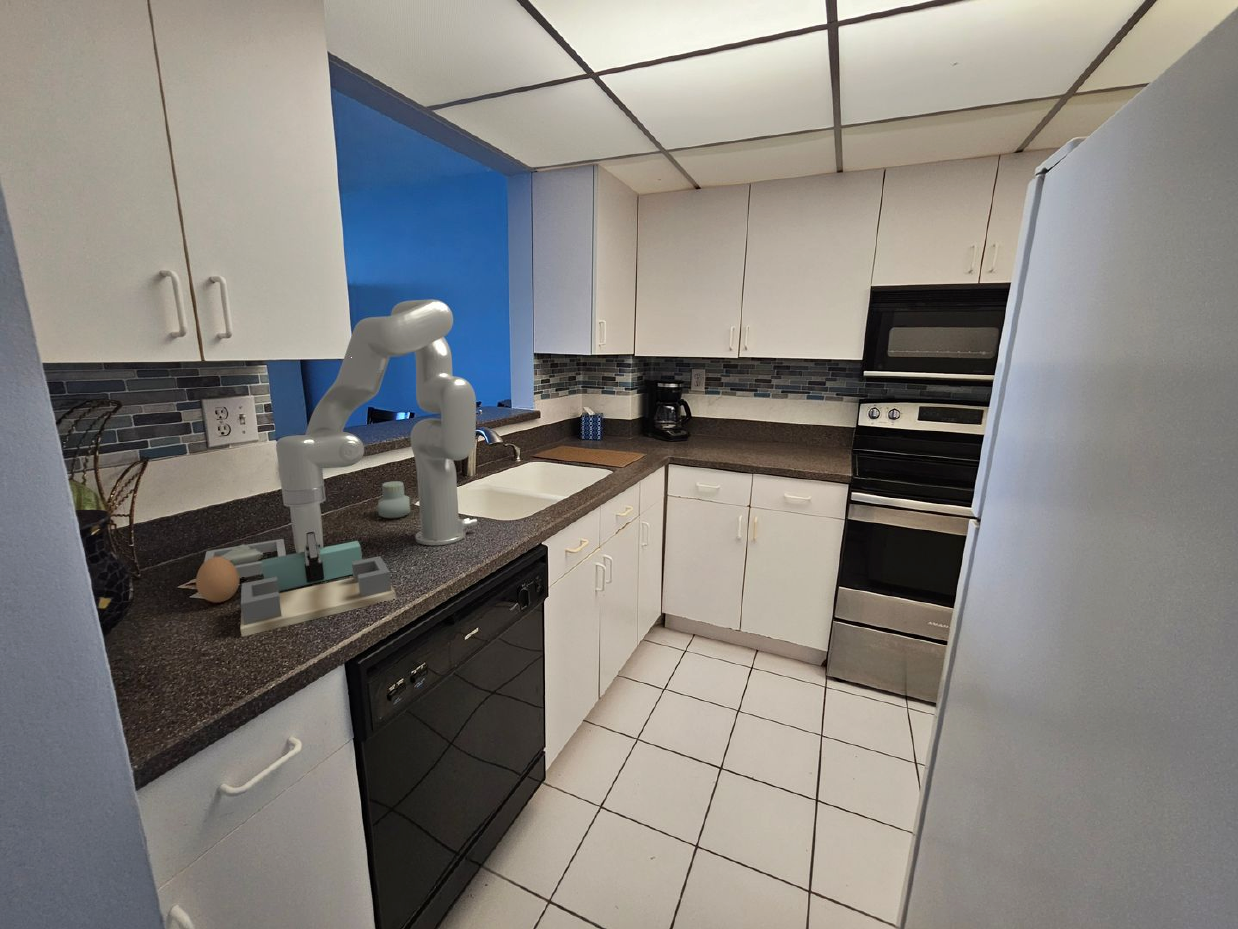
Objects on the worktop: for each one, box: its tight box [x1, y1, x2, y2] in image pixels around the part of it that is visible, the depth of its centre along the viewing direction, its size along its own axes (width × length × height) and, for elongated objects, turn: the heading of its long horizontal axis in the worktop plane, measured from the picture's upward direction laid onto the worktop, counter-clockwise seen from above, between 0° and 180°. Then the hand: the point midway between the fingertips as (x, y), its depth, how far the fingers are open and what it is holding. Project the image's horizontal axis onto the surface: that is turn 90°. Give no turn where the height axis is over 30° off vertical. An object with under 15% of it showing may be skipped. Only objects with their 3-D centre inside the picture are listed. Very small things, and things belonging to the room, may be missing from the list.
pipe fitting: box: [220, 543, 264, 566], centre depth 117 cm, size 8×4×7 cm
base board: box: [240, 577, 397, 638], centre depth 100 cm, size 25×12×2 cm, turn 125°
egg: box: [195, 557, 240, 604], centre depth 100 cm, size 7×7×9 cm
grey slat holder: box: [240, 555, 392, 625], centre depth 99 cm, size 24×10×4 cm, turn 125°
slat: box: [261, 540, 363, 592], centre depth 110 cm, size 18×4×6 cm, turn 125°
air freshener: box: [377, 480, 411, 519], centre depth 153 cm, size 11×8×10 cm
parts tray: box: [203, 538, 287, 579], centre depth 117 cm, size 15×15×2 cm
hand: (314, 576), depth 110 cm, fingers closed on slat, 3 cm apart
